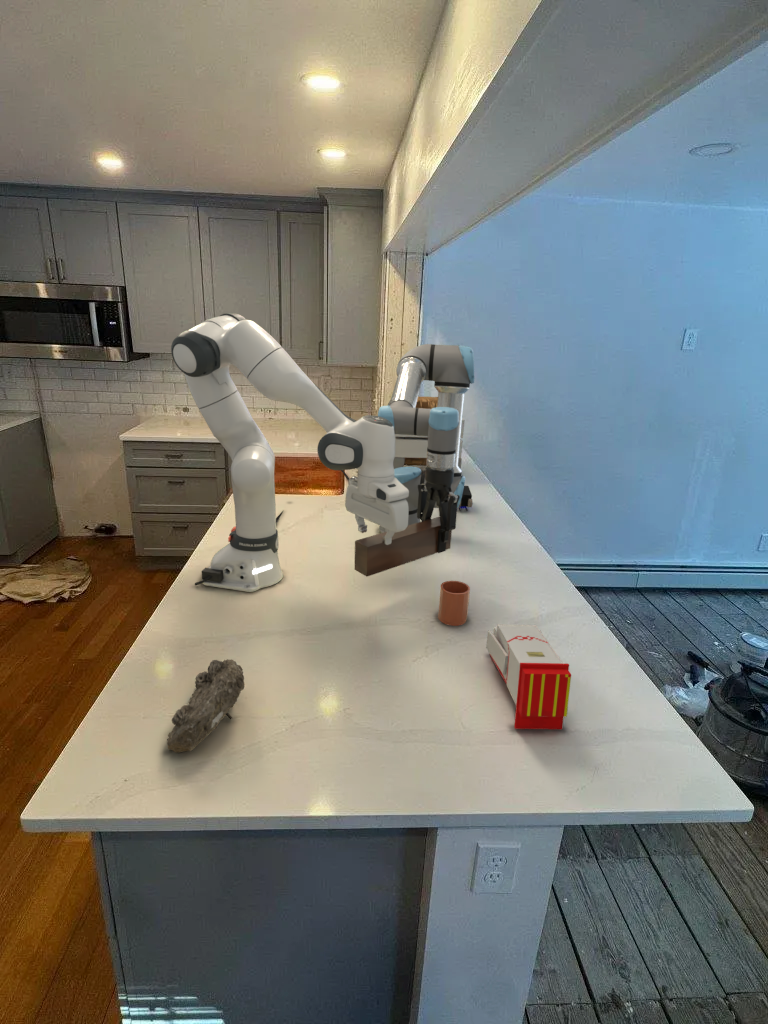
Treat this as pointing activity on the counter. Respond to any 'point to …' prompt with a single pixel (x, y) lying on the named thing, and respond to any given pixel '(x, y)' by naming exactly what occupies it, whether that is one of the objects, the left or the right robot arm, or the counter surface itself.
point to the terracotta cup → (453, 603)
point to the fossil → (206, 705)
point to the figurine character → (466, 499)
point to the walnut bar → (398, 547)
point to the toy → (531, 675)
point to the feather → (278, 517)
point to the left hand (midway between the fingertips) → (374, 537)
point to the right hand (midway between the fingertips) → (433, 547)
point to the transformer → (417, 441)
